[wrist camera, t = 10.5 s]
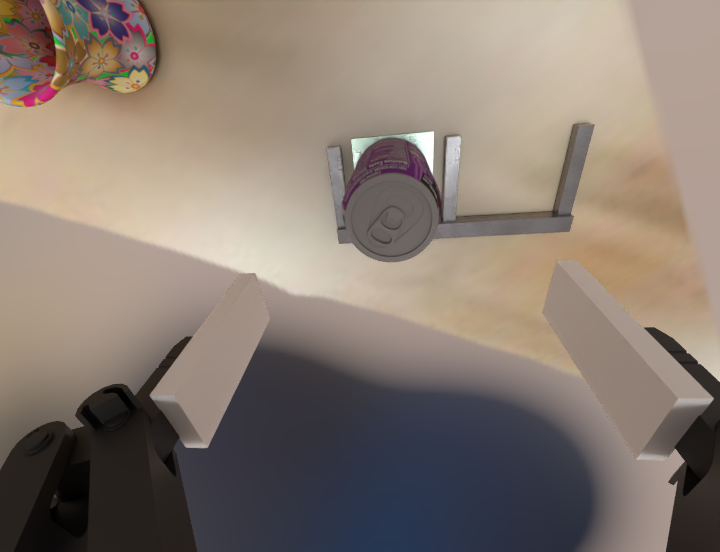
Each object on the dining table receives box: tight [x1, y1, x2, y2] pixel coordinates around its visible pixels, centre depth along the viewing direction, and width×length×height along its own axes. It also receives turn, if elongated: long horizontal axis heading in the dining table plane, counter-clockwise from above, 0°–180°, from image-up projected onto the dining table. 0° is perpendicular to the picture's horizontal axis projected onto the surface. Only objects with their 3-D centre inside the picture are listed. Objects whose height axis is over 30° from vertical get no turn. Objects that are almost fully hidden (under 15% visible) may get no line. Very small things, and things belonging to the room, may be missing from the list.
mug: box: [0, 0, 156, 107], centre depth 23 cm, size 12×9×11 cm
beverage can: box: [342, 138, 442, 262], centre depth 26 cm, size 7×7×12 cm
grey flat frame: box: [327, 123, 594, 244], centre depth 31 cm, size 10×23×2 cm, turn 96°
